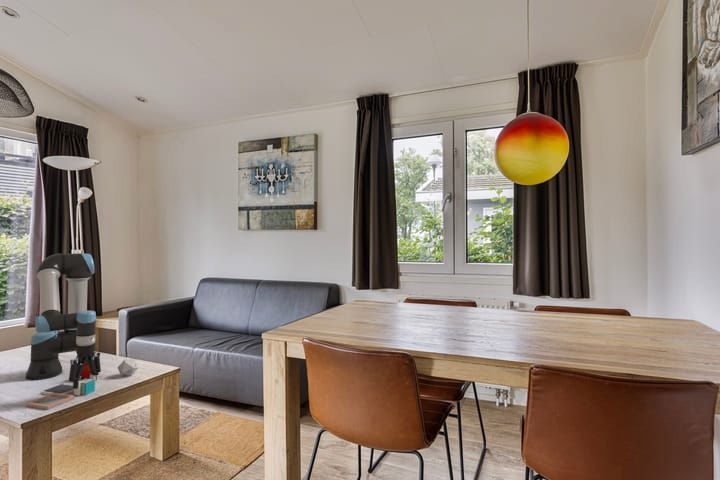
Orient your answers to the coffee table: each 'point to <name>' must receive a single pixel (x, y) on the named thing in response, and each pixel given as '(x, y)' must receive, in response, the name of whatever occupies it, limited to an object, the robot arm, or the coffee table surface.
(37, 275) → the robot arm
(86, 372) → the red clay folk toy
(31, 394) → the coffee table surface
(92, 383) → the puzzle toy
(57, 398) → the square tray
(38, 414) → the coffee table surface
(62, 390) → the ink pad
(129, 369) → the die
